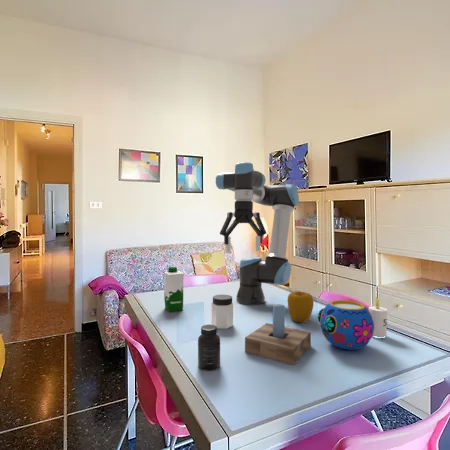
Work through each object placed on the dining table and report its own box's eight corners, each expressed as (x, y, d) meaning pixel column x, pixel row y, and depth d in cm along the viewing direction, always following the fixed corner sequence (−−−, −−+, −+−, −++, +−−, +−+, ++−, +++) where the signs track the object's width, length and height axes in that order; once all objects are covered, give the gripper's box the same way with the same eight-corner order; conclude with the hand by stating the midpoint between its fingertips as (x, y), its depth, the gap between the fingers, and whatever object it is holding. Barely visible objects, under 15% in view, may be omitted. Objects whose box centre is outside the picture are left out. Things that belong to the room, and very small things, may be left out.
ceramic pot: (314, 336, 122) (314, 297, 121) (361, 337, 121) (362, 298, 120) (327, 357, 104) (328, 311, 104) (382, 358, 103) (384, 312, 103)
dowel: (275, 345, 113) (275, 303, 112) (286, 348, 111) (286, 305, 110) (270, 349, 109) (271, 306, 109) (281, 352, 107) (282, 308, 107)
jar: (236, 327, 131) (236, 298, 131) (218, 330, 127) (218, 300, 127) (226, 320, 139) (226, 293, 139) (209, 323, 136) (209, 295, 135)
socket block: (266, 336, 122) (266, 323, 122) (310, 346, 113) (310, 332, 112) (245, 352, 107) (245, 337, 107) (293, 365, 98) (293, 349, 98)
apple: (314, 318, 143) (315, 289, 142) (310, 326, 133) (311, 295, 132) (290, 315, 147) (290, 287, 147) (284, 322, 137) (284, 292, 137)
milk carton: (180, 305, 161) (180, 266, 161) (185, 310, 153) (185, 269, 153) (162, 307, 158) (162, 267, 157) (167, 312, 150) (167, 270, 149)
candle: (379, 340, 118) (380, 300, 118) (364, 334, 124) (365, 296, 123) (390, 337, 121) (391, 298, 121) (375, 331, 127) (376, 294, 126)
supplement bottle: (197, 361, 101) (197, 323, 100) (219, 360, 101) (219, 322, 101) (197, 371, 94) (197, 331, 94) (221, 370, 95) (221, 330, 94)
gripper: (218, 199, 124) (218, 254, 124) (274, 200, 133) (274, 251, 134) (212, 200, 131) (212, 252, 131) (265, 201, 140) (265, 249, 141)
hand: (243, 251), depth 133 cm, fingers open, 13 cm apart
